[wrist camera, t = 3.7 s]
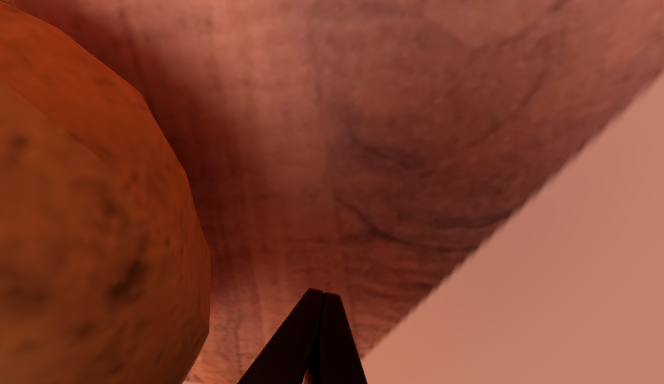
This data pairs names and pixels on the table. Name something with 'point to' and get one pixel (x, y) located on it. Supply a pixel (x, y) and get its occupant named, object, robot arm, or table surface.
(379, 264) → the table surface
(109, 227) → the potato
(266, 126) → the table surface
